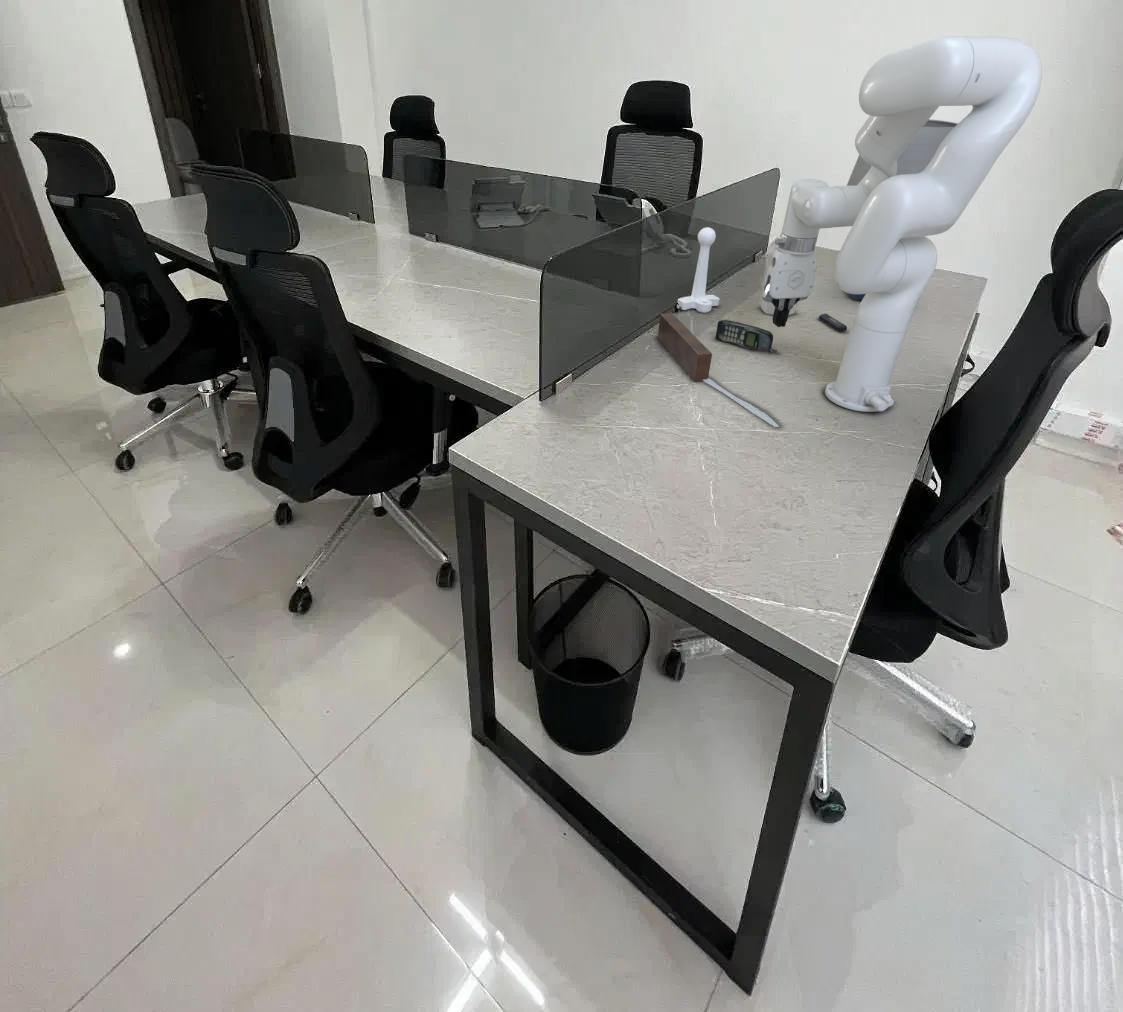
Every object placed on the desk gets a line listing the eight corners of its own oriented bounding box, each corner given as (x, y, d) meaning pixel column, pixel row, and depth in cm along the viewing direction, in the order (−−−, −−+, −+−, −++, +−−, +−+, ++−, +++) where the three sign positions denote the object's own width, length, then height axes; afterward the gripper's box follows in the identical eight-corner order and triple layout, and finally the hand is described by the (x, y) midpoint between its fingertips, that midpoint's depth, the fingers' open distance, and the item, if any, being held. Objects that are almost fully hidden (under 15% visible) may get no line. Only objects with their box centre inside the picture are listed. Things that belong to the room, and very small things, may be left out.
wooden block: (707, 380, 138) (712, 353, 135) (694, 381, 138) (698, 354, 134) (669, 337, 157) (672, 313, 153) (657, 338, 156) (660, 313, 153)
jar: (777, 318, 169) (788, 271, 162) (754, 309, 174) (763, 263, 167) (800, 312, 173) (812, 266, 166) (777, 303, 178) (787, 258, 171)
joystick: (709, 301, 178) (722, 224, 167) (725, 310, 173) (738, 231, 161) (674, 306, 175) (684, 227, 163) (688, 315, 169) (700, 234, 157)
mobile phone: (716, 320, 153) (777, 334, 146) (722, 317, 155) (782, 331, 148) (713, 340, 156) (773, 356, 149) (719, 337, 158) (778, 351, 151)
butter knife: (700, 368, 142) (688, 369, 141) (785, 425, 123) (772, 427, 122) (699, 370, 142) (688, 372, 141) (784, 428, 123) (772, 430, 122)
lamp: (821, 308, 176) (869, 125, 151) (815, 280, 196) (856, 114, 171) (921, 317, 172) (988, 131, 146) (904, 288, 191) (960, 119, 166)
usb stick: (817, 319, 169) (818, 313, 168) (826, 318, 170) (827, 312, 169) (838, 332, 162) (839, 326, 161) (847, 331, 162) (849, 325, 161)
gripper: (773, 249, 137) (756, 333, 148) (837, 246, 140) (815, 329, 151) (758, 239, 143) (742, 320, 154) (819, 237, 146) (799, 317, 157)
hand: (778, 324), depth 152 cm, fingers closed
